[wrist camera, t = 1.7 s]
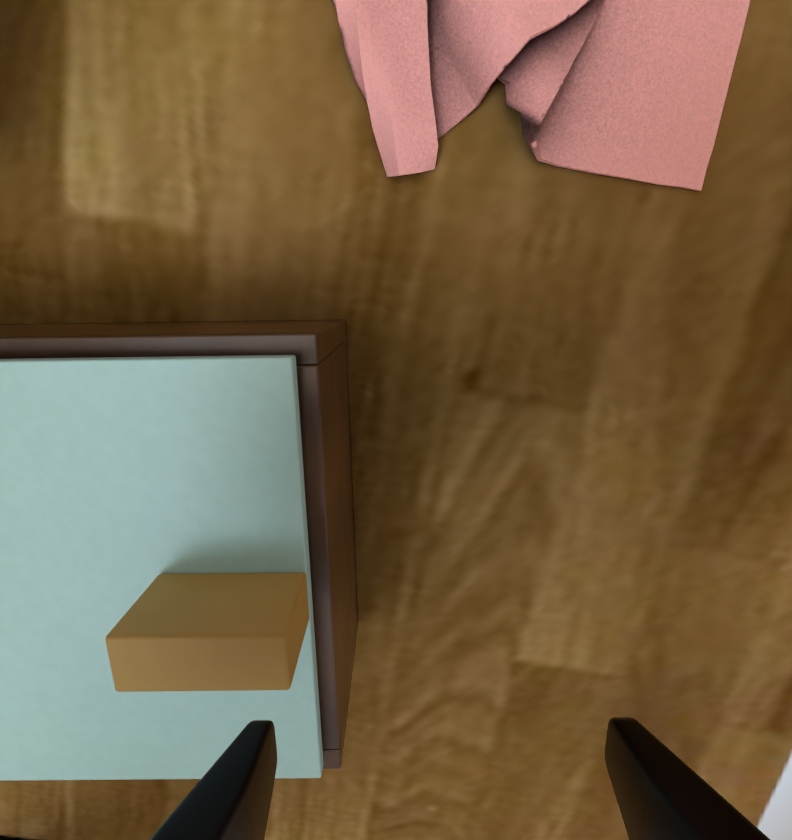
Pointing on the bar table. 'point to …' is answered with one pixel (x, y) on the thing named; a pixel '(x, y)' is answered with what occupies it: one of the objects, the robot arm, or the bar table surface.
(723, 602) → the bar table surface
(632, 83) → the cloth
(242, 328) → the display box
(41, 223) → the bar table surface
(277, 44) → the bar table surface
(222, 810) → the robot arm
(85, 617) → the light blue box top
